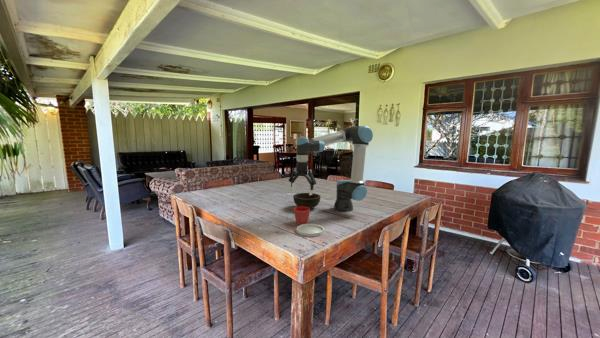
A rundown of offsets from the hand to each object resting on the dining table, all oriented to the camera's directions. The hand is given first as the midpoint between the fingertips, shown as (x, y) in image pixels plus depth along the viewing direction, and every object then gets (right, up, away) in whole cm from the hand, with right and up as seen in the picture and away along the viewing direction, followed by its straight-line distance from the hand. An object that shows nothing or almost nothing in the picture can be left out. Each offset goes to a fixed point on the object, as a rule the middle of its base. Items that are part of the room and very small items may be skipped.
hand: (301, 193), depth 171 cm
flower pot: (0, -20, +3) cm, 20 cm away
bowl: (+4, -15, +37) cm, 40 cm away
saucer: (+5, -22, -13) cm, 26 cm away
